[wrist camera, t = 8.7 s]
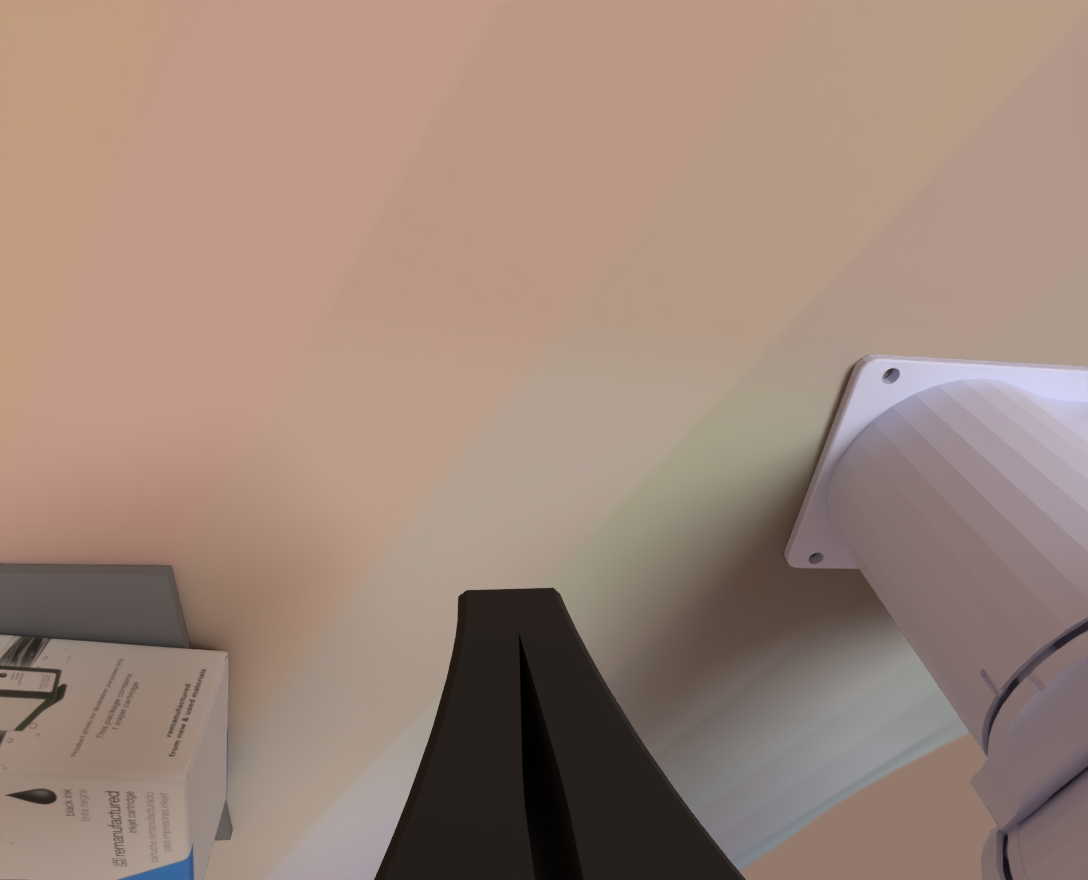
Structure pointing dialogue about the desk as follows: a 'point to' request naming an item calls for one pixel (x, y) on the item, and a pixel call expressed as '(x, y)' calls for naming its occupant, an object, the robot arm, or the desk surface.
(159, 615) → the mat
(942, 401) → the robot arm
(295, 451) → the desk surface
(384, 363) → the desk surface
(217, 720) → the ink box
